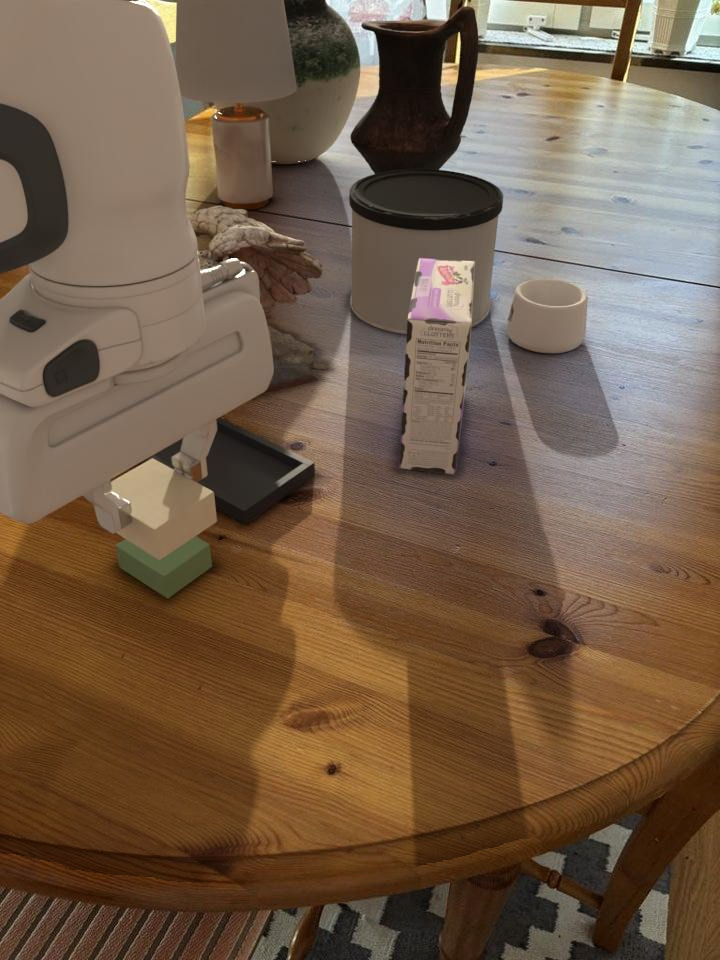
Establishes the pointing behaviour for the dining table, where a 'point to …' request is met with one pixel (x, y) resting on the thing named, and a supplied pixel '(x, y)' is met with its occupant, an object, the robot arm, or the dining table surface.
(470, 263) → the candy box
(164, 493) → the cream pad
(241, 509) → the dark serving tray
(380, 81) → the jug
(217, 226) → the cherub figurine
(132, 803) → the dining table surface
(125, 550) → the sage pad
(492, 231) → the container
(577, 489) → the dining table surface
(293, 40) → the vase
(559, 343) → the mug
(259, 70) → the lamp
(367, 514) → the dining table surface
